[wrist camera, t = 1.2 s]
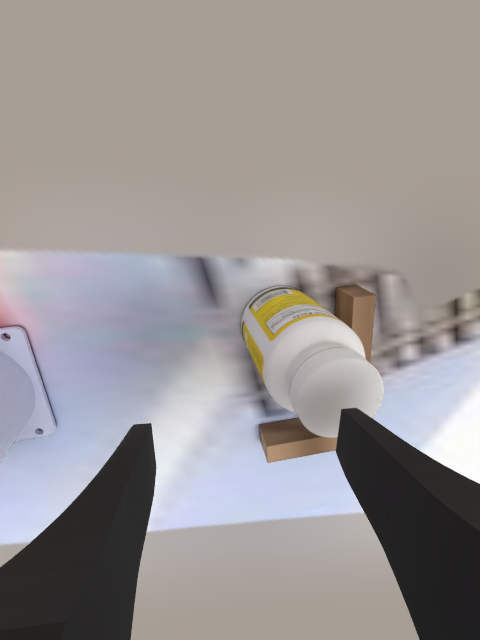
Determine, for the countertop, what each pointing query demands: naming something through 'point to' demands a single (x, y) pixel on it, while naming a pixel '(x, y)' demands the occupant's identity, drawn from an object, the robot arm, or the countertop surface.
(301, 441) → the wooden l-shaped block
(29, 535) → the countertop surface
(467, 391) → the countertop surface
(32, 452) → the countertop surface
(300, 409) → the supplement bottle
